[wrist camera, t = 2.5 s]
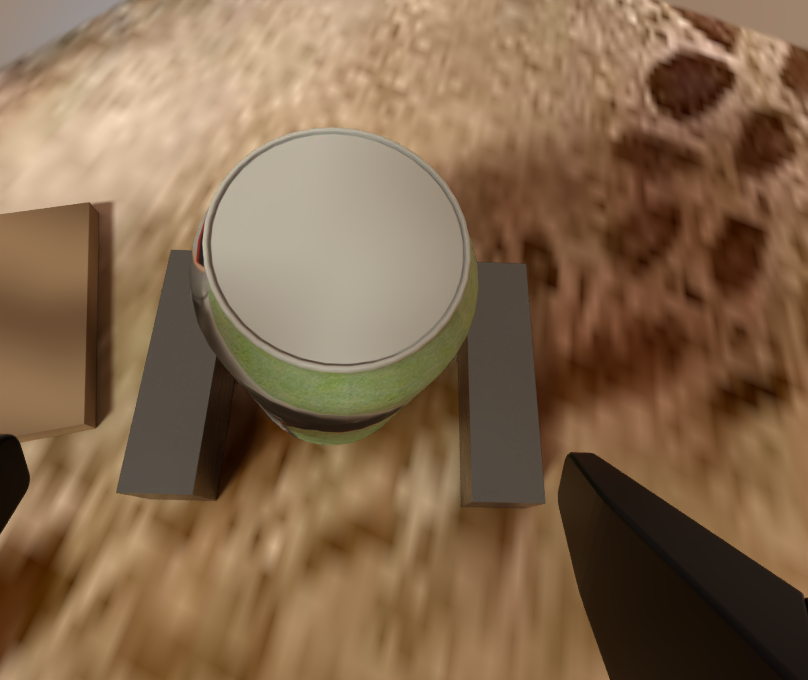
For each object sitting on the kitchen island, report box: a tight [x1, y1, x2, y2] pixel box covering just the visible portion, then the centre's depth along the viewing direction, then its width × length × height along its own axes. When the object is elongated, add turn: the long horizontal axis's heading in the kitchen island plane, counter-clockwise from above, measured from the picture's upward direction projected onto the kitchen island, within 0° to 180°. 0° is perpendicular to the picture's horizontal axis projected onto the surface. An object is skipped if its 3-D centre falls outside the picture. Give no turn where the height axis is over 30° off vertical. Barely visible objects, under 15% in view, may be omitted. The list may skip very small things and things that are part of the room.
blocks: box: [116, 250, 545, 508], centre depth 19 cm, size 9×14×2 cm, turn 89°
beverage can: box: [189, 127, 478, 445], centre depth 15 cm, size 6×7×12 cm
